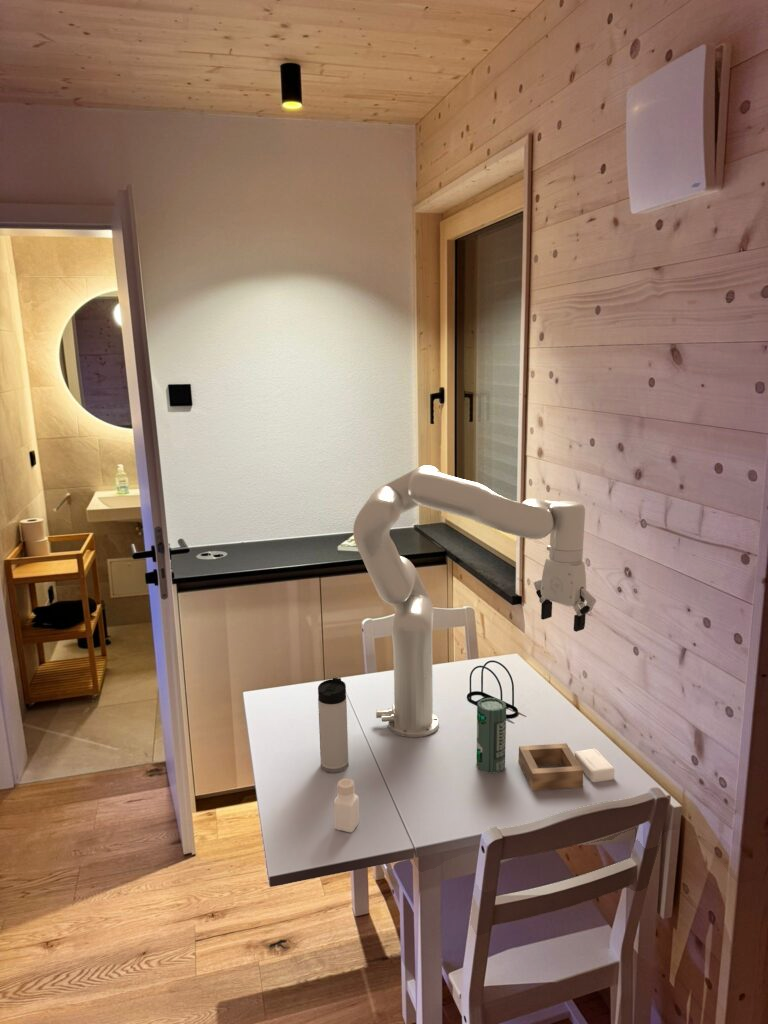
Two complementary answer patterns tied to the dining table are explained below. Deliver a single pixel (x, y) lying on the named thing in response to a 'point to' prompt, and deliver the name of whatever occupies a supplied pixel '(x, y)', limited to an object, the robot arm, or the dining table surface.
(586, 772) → the soap
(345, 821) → the pepper shaker
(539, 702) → the dining table surface
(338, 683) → the travel mug
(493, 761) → the can
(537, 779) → the socket
